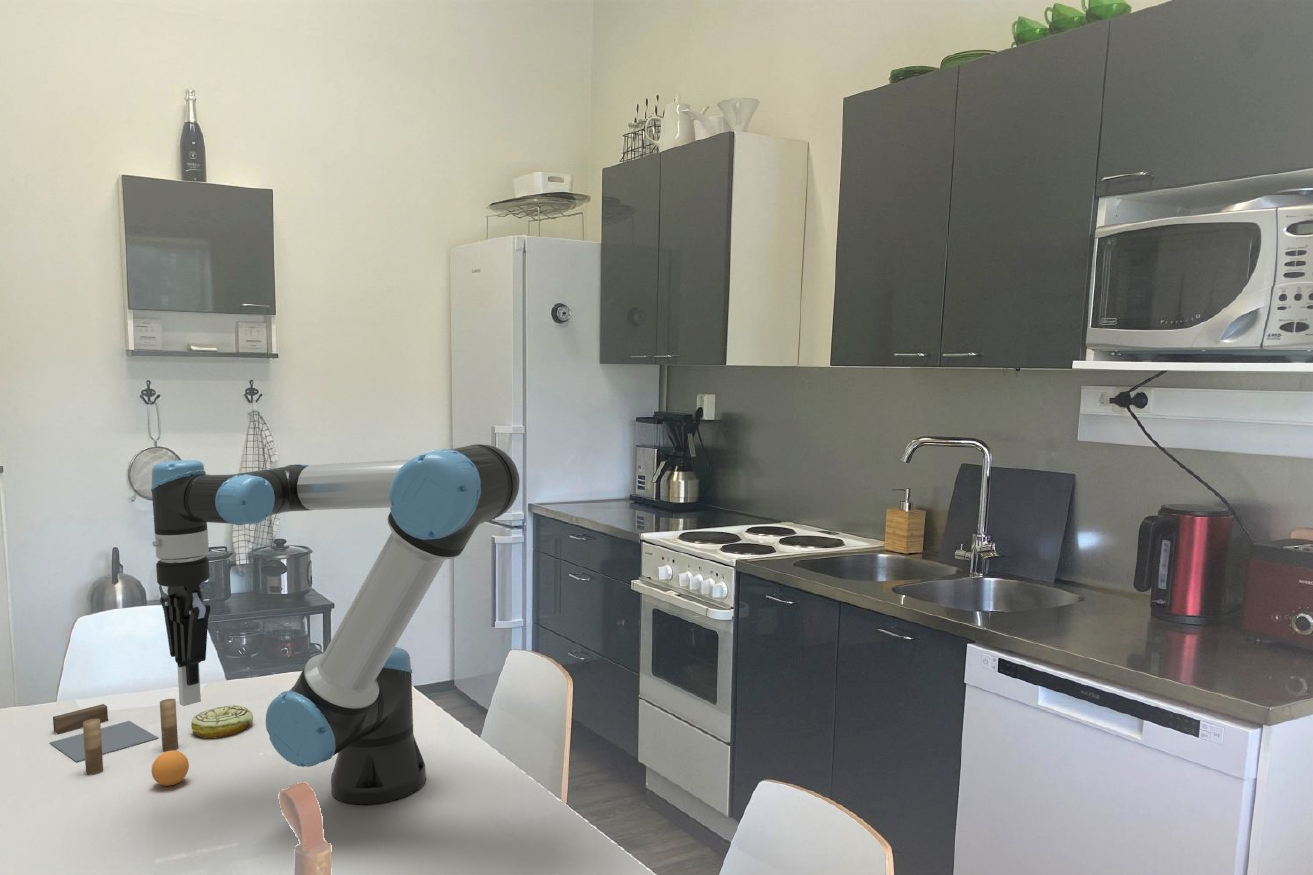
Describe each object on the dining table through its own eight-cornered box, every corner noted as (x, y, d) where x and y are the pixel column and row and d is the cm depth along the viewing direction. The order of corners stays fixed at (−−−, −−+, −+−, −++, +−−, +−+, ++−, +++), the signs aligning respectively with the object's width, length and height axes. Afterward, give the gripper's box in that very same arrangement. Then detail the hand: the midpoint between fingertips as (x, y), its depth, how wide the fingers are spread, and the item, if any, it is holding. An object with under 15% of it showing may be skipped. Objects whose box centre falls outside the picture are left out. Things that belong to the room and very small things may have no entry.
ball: (195, 782, 160) (193, 750, 160) (160, 794, 156) (158, 761, 156) (181, 774, 164) (179, 742, 163) (146, 785, 160) (145, 752, 159)
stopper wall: (108, 720, 190) (107, 706, 190) (57, 734, 183) (56, 719, 183) (104, 718, 191) (103, 703, 191) (53, 731, 185) (52, 716, 184)
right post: (180, 748, 175) (177, 700, 175) (165, 752, 173) (163, 704, 173) (174, 744, 177) (172, 697, 176) (160, 749, 175) (157, 701, 174)
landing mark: (158, 738, 180) (158, 737, 180) (76, 762, 170) (76, 761, 170) (129, 721, 189) (129, 720, 189) (49, 743, 179) (49, 742, 179)
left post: (105, 770, 166) (102, 720, 165) (89, 775, 164) (85, 725, 163) (100, 767, 167) (96, 717, 167) (83, 772, 165) (80, 721, 165)
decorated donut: (264, 725, 187) (263, 707, 186) (215, 744, 177) (214, 725, 177) (229, 716, 192) (228, 698, 191) (180, 735, 182) (179, 715, 182)
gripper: (140, 556, 152) (149, 700, 154) (175, 566, 144) (183, 718, 145) (188, 549, 158) (196, 688, 160) (224, 558, 149) (232, 705, 151)
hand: (190, 702), depth 153 cm, fingers closed
